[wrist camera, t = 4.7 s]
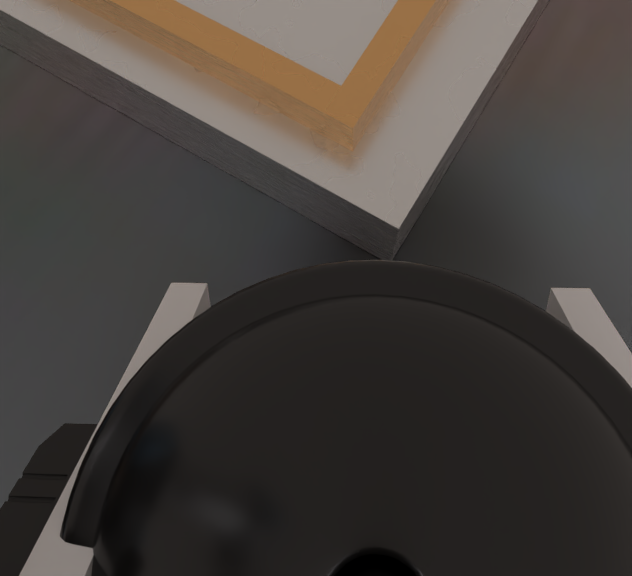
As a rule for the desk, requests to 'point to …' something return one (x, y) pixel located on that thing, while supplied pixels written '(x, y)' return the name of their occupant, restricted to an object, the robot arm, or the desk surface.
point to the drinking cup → (363, 438)
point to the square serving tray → (293, 89)
